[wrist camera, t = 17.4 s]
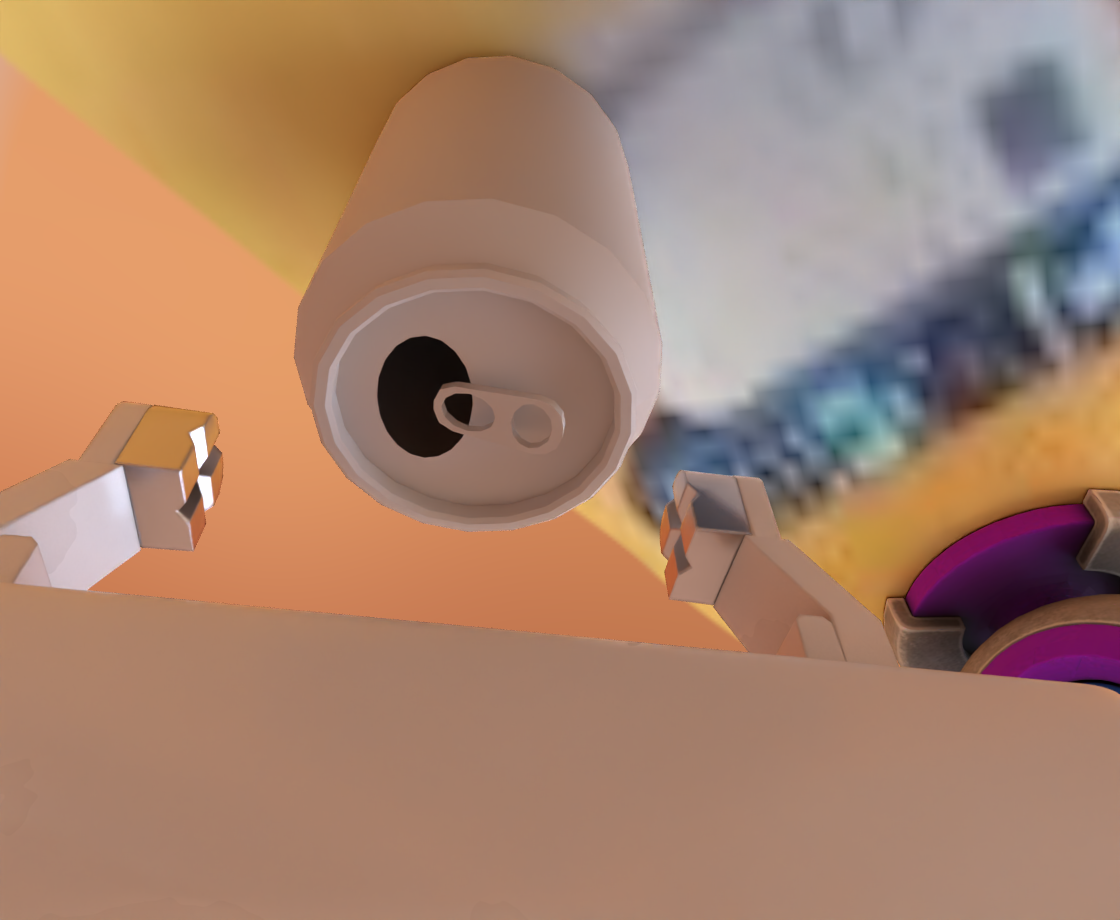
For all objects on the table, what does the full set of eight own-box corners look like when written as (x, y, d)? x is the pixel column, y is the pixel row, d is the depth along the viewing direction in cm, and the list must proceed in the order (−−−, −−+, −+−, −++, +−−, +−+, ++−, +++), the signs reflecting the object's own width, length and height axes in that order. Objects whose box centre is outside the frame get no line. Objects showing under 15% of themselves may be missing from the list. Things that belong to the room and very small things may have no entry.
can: (373, 29, 22) (245, 216, 13) (649, 64, 23) (715, 265, 13) (380, 280, 27) (290, 548, 18) (607, 304, 27) (634, 574, 18)
